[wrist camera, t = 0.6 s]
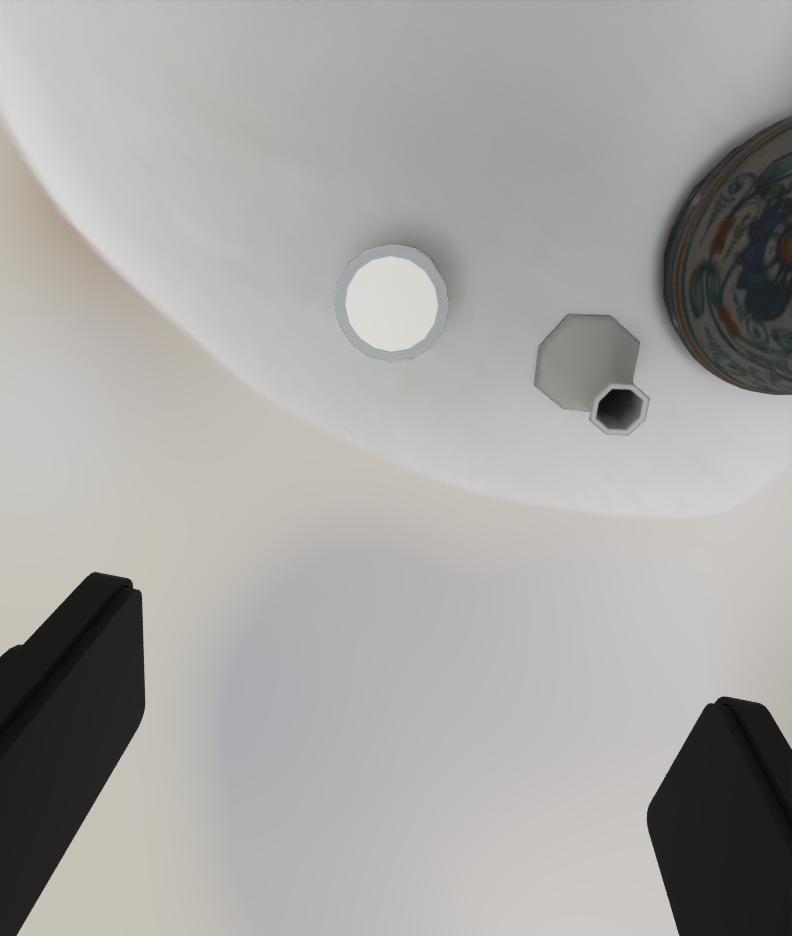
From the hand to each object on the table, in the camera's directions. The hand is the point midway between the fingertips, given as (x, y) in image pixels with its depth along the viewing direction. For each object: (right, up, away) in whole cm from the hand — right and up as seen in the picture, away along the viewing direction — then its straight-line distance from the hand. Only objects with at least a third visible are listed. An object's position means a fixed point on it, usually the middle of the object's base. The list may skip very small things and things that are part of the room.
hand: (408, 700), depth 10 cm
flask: (+13, +11, +33) cm, 37 cm away
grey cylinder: (0, +17, +32) cm, 36 cm away
